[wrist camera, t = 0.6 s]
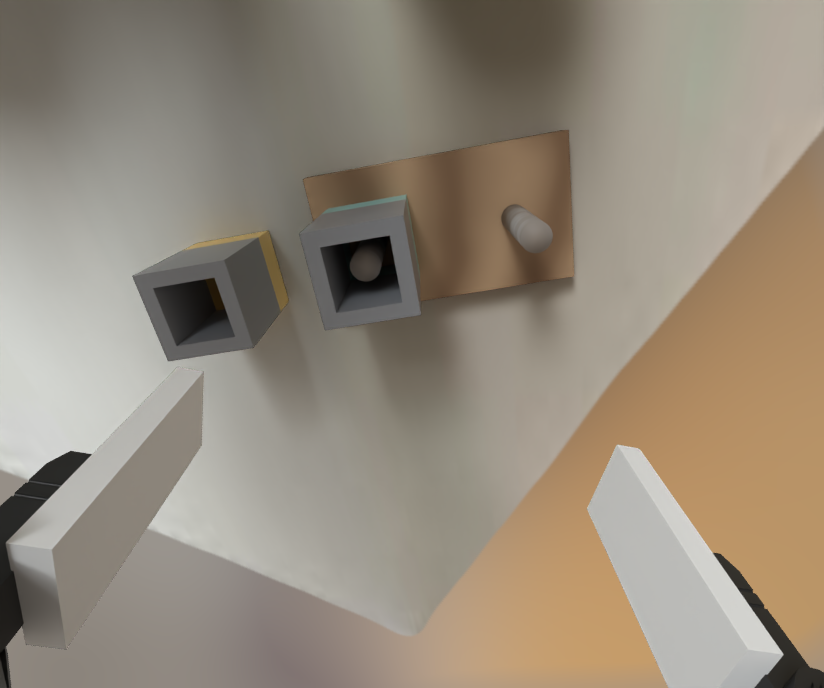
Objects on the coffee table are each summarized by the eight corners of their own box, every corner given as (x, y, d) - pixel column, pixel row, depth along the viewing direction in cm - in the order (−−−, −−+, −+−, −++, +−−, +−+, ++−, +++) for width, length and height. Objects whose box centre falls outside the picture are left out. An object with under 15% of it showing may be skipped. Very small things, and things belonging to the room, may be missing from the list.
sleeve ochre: (197, 243, 36) (132, 276, 28) (268, 230, 36) (224, 260, 27) (221, 312, 38) (167, 361, 30) (288, 300, 38) (253, 347, 30)
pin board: (339, 308, 38) (320, 353, 30) (307, 177, 34) (275, 191, 26) (568, 270, 37) (608, 308, 29) (562, 130, 33) (607, 129, 25)
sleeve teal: (345, 284, 36) (324, 330, 28) (327, 208, 34) (299, 233, 25) (419, 272, 35) (420, 315, 27) (406, 194, 33) (403, 215, 25)
